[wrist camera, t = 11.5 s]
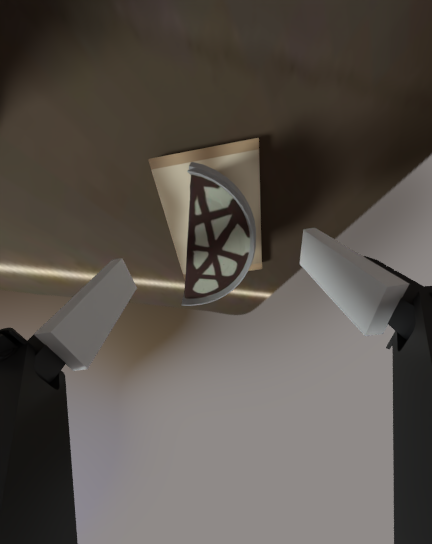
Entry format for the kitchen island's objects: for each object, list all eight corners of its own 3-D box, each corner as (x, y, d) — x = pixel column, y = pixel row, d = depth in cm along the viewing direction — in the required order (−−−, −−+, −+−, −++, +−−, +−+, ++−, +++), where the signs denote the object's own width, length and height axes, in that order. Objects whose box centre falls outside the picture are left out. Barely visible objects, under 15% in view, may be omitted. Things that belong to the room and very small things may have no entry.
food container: (233, 266, 26) (243, 315, 17) (191, 261, 25) (181, 309, 17) (253, 172, 20) (284, 175, 11) (199, 164, 19) (187, 160, 11)
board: (186, 273, 29) (184, 279, 27) (153, 159, 20) (148, 159, 19) (259, 263, 28) (261, 268, 26) (255, 140, 20) (258, 137, 18)
